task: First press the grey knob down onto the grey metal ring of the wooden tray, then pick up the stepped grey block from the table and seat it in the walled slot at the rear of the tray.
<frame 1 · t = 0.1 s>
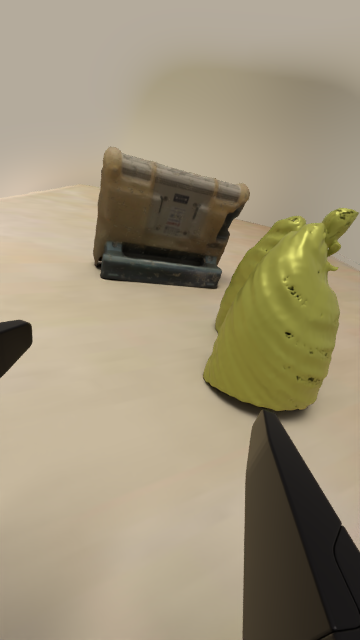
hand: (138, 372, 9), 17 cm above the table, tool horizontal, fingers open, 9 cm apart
tablet: (159, 277, 66), on the table
lungs: (252, 361, 42), on the table
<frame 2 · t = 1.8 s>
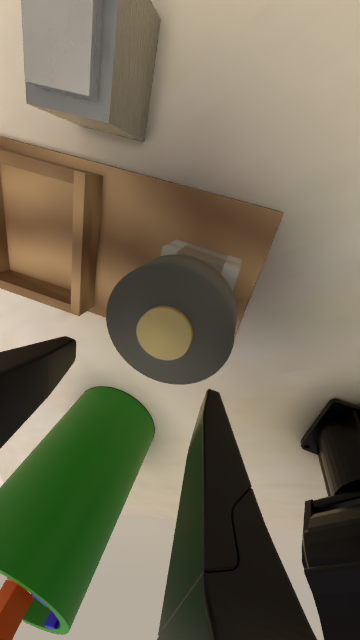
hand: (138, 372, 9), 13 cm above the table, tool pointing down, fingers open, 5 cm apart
grey knob: (179, 311, 14), point 7 cm above the table, slide at 2.8 cm
stepped grey block: (116, 78, 17), on the table
motor: (119, 417, 31), on the table
wooden tray: (118, 250, 21), on the table
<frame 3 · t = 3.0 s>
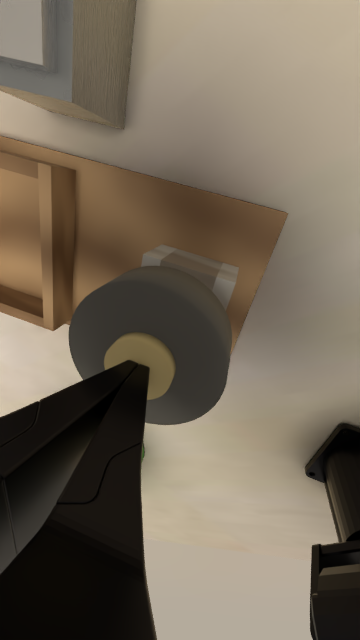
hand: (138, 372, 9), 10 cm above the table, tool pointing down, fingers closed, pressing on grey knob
grey knob: (162, 333, 12), point 7 cm above the table, slide at 2.7 cm, touching gripper
stepped grey block: (89, 53, 14), on the table
wooden tray: (98, 256, 19), on the table
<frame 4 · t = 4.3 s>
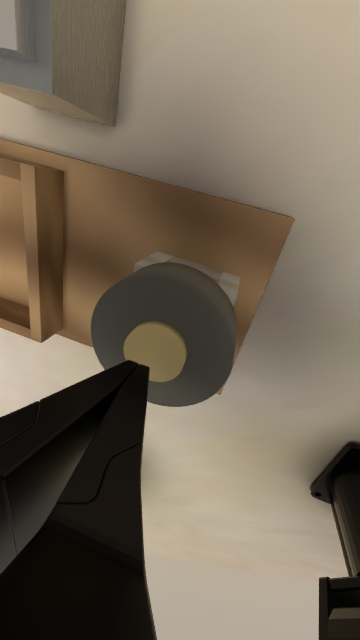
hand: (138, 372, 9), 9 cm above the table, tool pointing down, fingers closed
grey knob: (173, 324, 13), point 4 cm above the table, slide at -0.1 cm
stepped grey block: (77, 43, 13), on the table
wooden tray: (89, 262, 18), on the table
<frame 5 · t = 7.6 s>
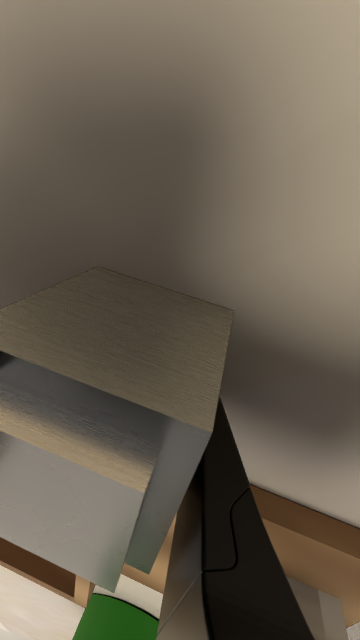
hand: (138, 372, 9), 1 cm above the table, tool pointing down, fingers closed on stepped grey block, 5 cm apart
stepped grey block: (148, 356, 10), on the table, touching gripper
motor: (134, 620, 25), on the table
wooden tray: (141, 509, 15), on the table
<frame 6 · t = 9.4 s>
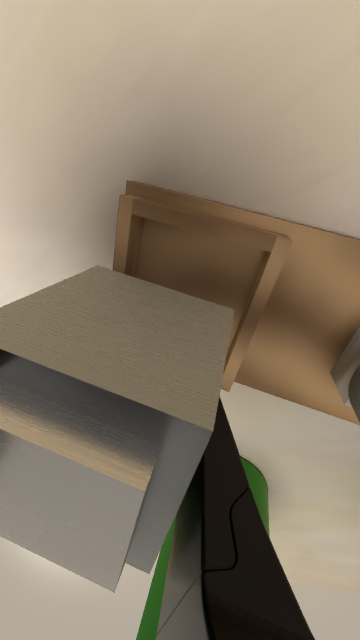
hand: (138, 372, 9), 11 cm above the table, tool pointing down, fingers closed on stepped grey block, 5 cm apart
stepped grey block: (149, 355, 10), point 10 cm above the table, touching gripper
motor: (223, 478, 28), on the table
wooden tray: (271, 312, 18), on the table
when the fingers open (5 cm above the table, at t = 10.9 s): stepped grey block drops 2 cm, resting on wooden tray.
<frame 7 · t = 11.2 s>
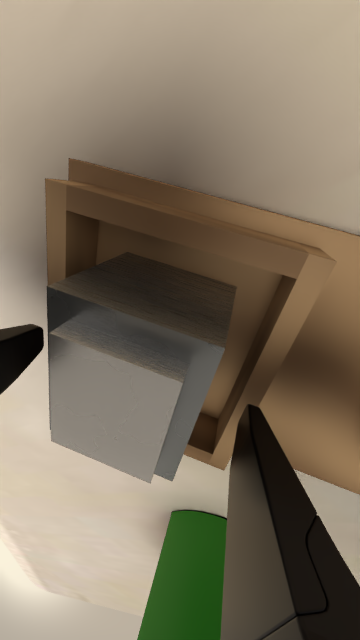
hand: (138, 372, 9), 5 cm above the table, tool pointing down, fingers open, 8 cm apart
stepped grey block: (166, 327, 12), point 1 cm above the table, touching wooden tray
motor: (216, 543, 22), on the table
wooden tray: (286, 355, 13), on the table
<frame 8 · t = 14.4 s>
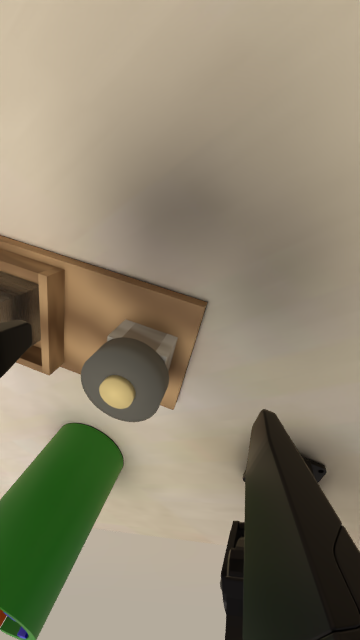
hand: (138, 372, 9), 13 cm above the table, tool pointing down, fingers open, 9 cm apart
grey knob: (132, 370, 21), point 4 cm above the table, slide at -0.1 cm
stepped grey block: (21, 305, 25), point 1 cm above the table, touching wooden tray
motor: (93, 448, 35), on the table
wooden tray: (82, 319, 26), on the table
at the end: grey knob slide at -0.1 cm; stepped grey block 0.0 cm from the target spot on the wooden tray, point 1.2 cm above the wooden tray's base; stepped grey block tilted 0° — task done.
